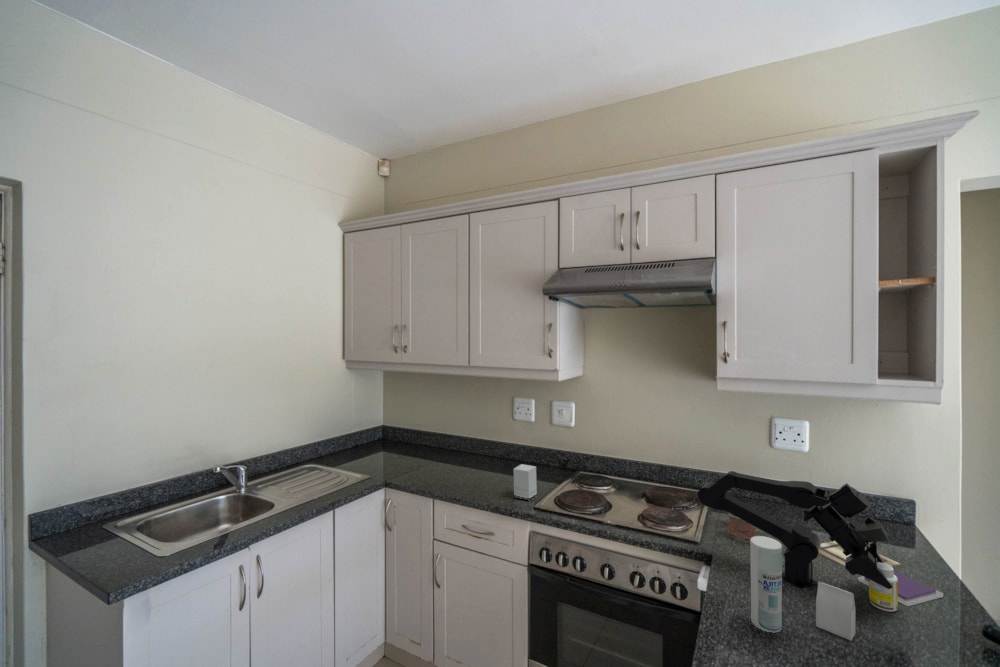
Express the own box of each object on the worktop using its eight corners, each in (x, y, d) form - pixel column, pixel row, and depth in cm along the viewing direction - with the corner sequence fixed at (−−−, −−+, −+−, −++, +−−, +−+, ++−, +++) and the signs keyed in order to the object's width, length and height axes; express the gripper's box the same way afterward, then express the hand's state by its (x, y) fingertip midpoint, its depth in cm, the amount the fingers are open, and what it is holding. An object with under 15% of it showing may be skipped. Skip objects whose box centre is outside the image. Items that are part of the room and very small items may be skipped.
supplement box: (537, 496, 190) (536, 466, 190) (528, 502, 184) (528, 471, 184) (522, 492, 194) (521, 463, 194) (513, 498, 188) (512, 468, 188)
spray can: (770, 615, 111) (770, 535, 111) (788, 634, 104) (788, 548, 104) (744, 616, 111) (744, 536, 110) (761, 635, 104) (760, 549, 104)
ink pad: (907, 606, 114) (907, 600, 114) (858, 580, 125) (858, 575, 125) (943, 597, 117) (943, 591, 117) (891, 572, 129) (891, 567, 129)
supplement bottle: (882, 598, 117) (883, 559, 117) (904, 612, 112) (904, 571, 111) (863, 600, 117) (863, 560, 116) (883, 613, 111) (883, 572, 111)
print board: (859, 574, 128) (860, 572, 128) (807, 548, 144) (807, 545, 144) (900, 565, 133) (900, 563, 133) (845, 540, 148) (845, 538, 148)
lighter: (756, 541, 148) (756, 511, 148) (753, 545, 146) (753, 514, 146) (730, 533, 154) (730, 504, 154) (727, 537, 151) (727, 507, 151)
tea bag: (851, 641, 102) (851, 597, 102) (815, 626, 107) (816, 584, 107) (855, 633, 104) (855, 590, 104) (820, 619, 109) (820, 578, 109)
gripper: (862, 523, 109) (925, 584, 102) (864, 499, 123) (919, 551, 117) (822, 545, 114) (879, 605, 107) (828, 520, 129) (879, 571, 122)
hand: (890, 582), depth 113 cm, fingers open, 6 cm apart
